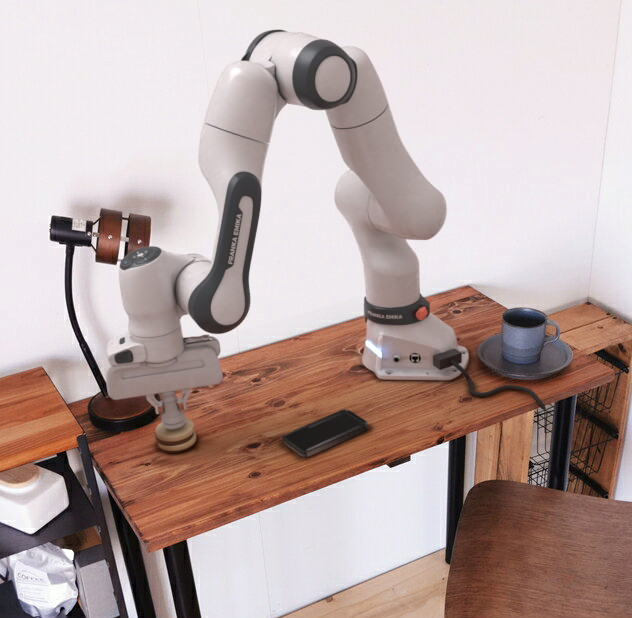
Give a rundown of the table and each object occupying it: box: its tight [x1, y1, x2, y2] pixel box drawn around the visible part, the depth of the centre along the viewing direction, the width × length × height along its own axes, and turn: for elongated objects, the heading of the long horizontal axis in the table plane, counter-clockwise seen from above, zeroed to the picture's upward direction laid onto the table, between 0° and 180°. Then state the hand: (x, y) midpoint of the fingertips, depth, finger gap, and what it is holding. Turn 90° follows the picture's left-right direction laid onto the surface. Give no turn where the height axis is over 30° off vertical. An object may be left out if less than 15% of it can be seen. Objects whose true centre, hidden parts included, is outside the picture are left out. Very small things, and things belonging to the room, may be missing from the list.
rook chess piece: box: [158, 391, 186, 430], centre depth 164 cm, size 4×4×8 cm
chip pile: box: [154, 417, 197, 454], centre depth 168 cm, size 8×8×4 cm
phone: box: [282, 408, 369, 458], centre depth 168 cm, size 8×1×15 cm
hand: (171, 410), depth 165 cm, fingers closed on rook chess piece, 3 cm apart
